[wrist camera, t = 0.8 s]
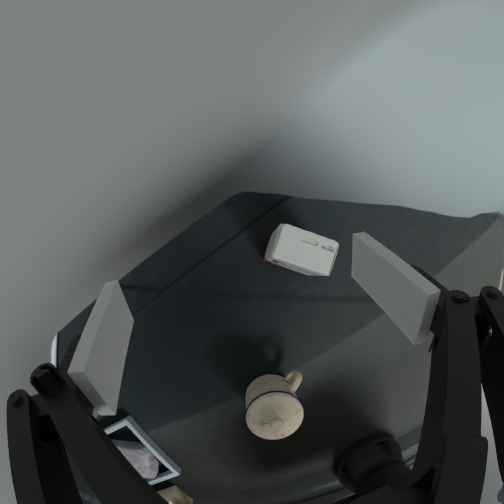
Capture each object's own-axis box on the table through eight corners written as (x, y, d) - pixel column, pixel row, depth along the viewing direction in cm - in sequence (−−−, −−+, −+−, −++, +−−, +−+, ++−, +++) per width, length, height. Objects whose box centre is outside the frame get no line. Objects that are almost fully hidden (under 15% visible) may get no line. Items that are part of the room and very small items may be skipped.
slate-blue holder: (181, 469, 45) (180, 474, 43) (132, 487, 44) (129, 492, 42) (129, 415, 45) (126, 419, 43) (84, 438, 44) (80, 442, 42)
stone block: (164, 468, 47) (149, 439, 45) (160, 483, 42) (144, 454, 40) (118, 462, 46) (101, 433, 45) (112, 476, 42) (93, 447, 40)
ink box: (262, 260, 49) (268, 257, 37) (271, 233, 49) (280, 221, 37) (309, 276, 49) (330, 277, 37) (318, 249, 49) (340, 242, 37)
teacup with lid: (275, 423, 47) (283, 457, 35) (234, 400, 47) (232, 433, 35) (313, 374, 48) (332, 400, 36) (273, 350, 48) (282, 372, 36)
